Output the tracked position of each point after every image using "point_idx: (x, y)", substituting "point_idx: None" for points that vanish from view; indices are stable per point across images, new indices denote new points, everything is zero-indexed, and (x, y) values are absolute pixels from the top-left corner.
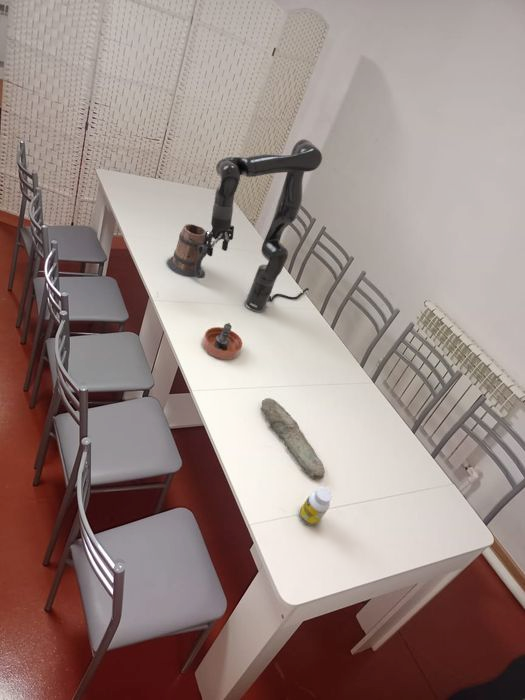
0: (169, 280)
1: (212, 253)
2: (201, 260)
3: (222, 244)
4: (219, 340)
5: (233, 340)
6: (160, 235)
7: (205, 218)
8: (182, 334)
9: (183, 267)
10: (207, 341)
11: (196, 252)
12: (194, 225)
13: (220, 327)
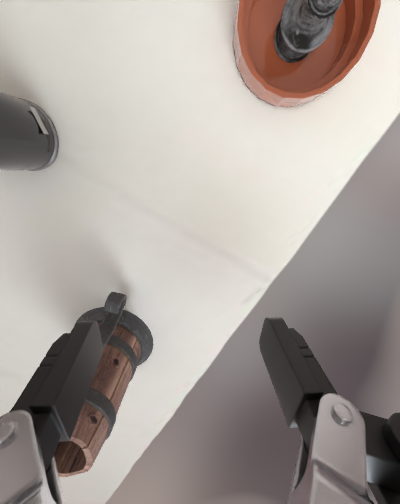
0: (186, 320)
1: (275, 334)
2: None
3: (86, 392)
4: (329, 19)
5: (248, 18)
6: None
7: None
8: (332, 155)
9: (132, 338)
10: (365, 45)
11: None
12: None
13: (259, 81)
